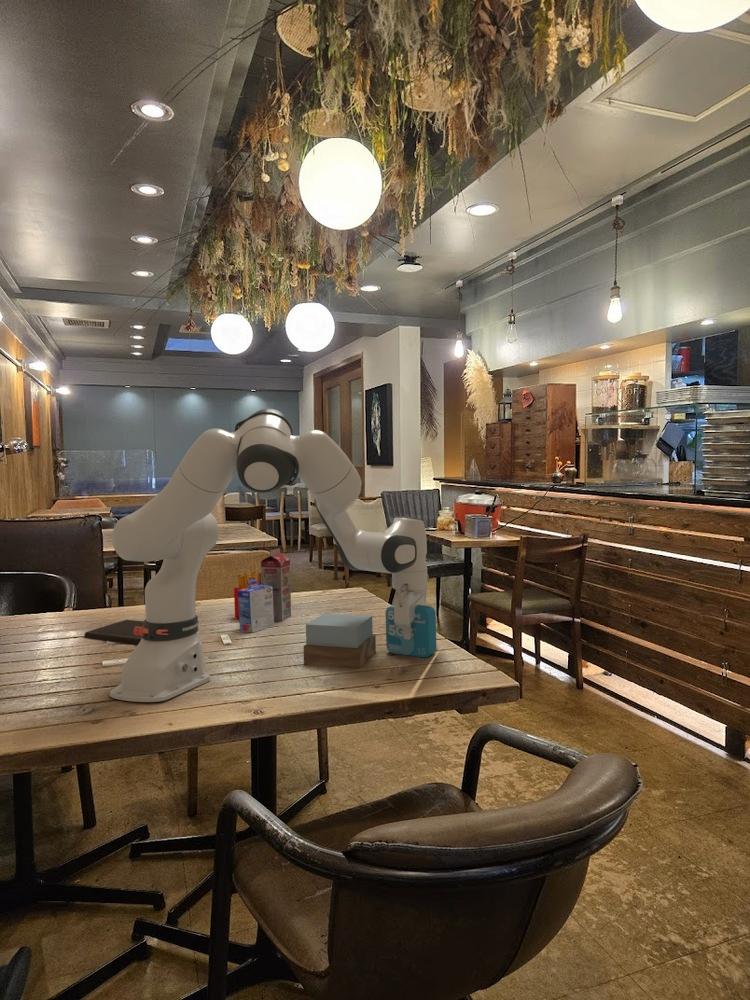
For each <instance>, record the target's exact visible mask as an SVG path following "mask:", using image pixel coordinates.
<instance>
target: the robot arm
mask: <svg viewBox="0 0 750 1000" xmlns="http://www.w3.org/2000/svg"><path fill="white" fill-rule="evenodd" d="M293 433H294V432H293V429H292V425H291V422H290V420H289V419H288V417H287V416H286V415H285V414H284V413H283V412H281V411H279V410H277V409H274V408H263V409H260V410H257V411H255V412H254V413H252V414H251V415H249V416H248V417H246V418H245V419H243V420H241V421H239V422H237V423H236V424H235V427H234V431H232V432H230V431H229V430H224V429H223V428H209V429H207V430H205V431H204V432H202V433H201V434H200V435H199V436H198V438H197V439H196V440H195V441H194V442H193V443H192V444H191V446H190V447H189V448H188V450H187V451H186V453H185V455H184V456H183V457H182V459H181V461H180V463H179V465H178V466H177V468H176V469H175V471H174V473H173V475H172V476H171V478H170V479H169V481H168V482H167V483H166V485H165V486H164V487H163V488H162V490H161V491H159V492H158V493H157V494H156V495H155V496H154V497H153V498H152V499H150V500H149V501H148V502H146V503H145V504H144V505H143V506H142V507H140V508H139V509H137V510H136V511H134V512H132V513H130V514H128V515H125V516H124V517H122V518H120V519H119V520H118V521H117V522H116V523H115V525H114V527H113V529H112V532H111V543H112V546H113V549H114V551H115V552H116V554H117V555H118V556H119V557H120V558H121V559H122V560H124V561H129V562H141V563H144V562H145V563H147V562H154V561H155V562H156V561H162V560H163V561H162V563H161V567H160V569H159V570H158V572H157V573H156V574H155V575H154V576H153V577H152V578H151V579H149V580H148V582H147V583H146V584H145V585H146V586H145V588H144V607H145V608H144V610H145V619H144V620H143V621H144V624H143V627H139V626H136V627H135V629H134V631H133V632H135V633H134V634H135V635H141V638H142V639H141V641H140V642H139V644H138V645H136V647H135V648H134V650H132V651H133V652H131V654H130V656H128V658H127V660H126V661H125V662H124V664H123V665H122V668H121V682H120V683H119V684H118V685H117V686H115V687H114V688H113V689H111V690H110V691H109V696H110V697H111V698H112V699H114V700H115V699H116V700H119V701H127V702H137V703H155V702H157V703H158V702H164V701H167V700H169V699H171V698H174V697H177V696H179V695H181V694H183V693H185V692H188V691H190V690H192V689H195V688H196V687H199V686H201V685H203V684H205V683H209V682H210V681H211V676H210V674H208V673H207V671H206V669H207V668H206V662H205V661H206V660H205V655H204V654H205V653H204V646H203V644H202V642H201V640H200V638H199V636H198V631H199V616H198V615H197V612H196V592H197V591H196V588H197V580H198V574H199V572H200V569H201V567H202V564H203V561H204V559H205V558H206V556H207V555H208V554H209V552H210V551H211V550H212V549H213V548H215V546H216V544H217V542H218V539H219V537H220V527H219V526H220V525H219V523H218V521H217V519H216V517H215V516H214V515H213V514H212V513H211V512H212V511H213V510H214V508H215V507H216V505H217V504H218V502H219V500H220V499H221V497H222V496H223V494H224V493H225V492H226V490H227V488H228V487H229V485H230V483H231V481H232V480H233V478H234V477H235V476H238V479H239V480H240V481H239V482H240V483H241V484H242V485H243V486H244V487H245V488H247V490H250V491H252V492H254V493H257V494H258V493H260V494H262V493H265V494H266V493H271V492H275V491H277V490H279V489H282V488H283V487H284V486H289V485H292V484H294V482H295V481H296V480H297V478H298V479H300V480H301V482H302V483H304V485H305V487H306V488H307V489H308V490H309V492H310V493H311V495H312V496H313V498H314V505H315V509H316V511H317V514H318V515H319V517H320V520H322V522H323V524H324V526H325V527H326V529H327V530H328V533H329V534H330V536H331V537H332V539H333V540H334V543H335V544H336V547H337V549H338V550H337V551H338V553H339V556H340V559H341V562H342V563H343V564H344V566H345V567H346V568H347V569H349V570H351V571H368V572H373V573H374V572H375V573H384V574H391V583H392V585H391V586H392V589H393V590H397V593H396V594H395V596H394V602H393V603H394V604H393V605H394V623H395V625H396V626H402V629H403V632H404V639H408V640H409V639H411V637H412V631H411V623H412V622H413V620H414V619H415V608H416V607H417V606H418V605H425V606H426V602H427V588H428V584H429V579H430V578H429V574H428V566H427V562H426V557H427V553H428V544H427V543H428V542H427V531H426V526H425V524H424V523H425V522H424V521H423V520H422V519H420V518H418V517H412V516H411V517H409V516H396V517H394V518H393V521H392V523H391V525H390V526H389V527H388V528H387V529H385V530H383V531H382V532H378V531H368V530H363V529H361V528H359V527H357V526H356V525H355V523H354V522H353V520H352V519H351V517H350V515H349V512H348V511H347V510H348V509H350V508H351V507H352V506H353V505H354V504H355V502H356V501H357V500H358V498H359V497H360V494H361V490H362V486H363V485H362V484H363V482H362V479H361V476H360V474H359V472H358V470H357V468H356V467H355V466H354V464H353V462H352V461H351V460H350V459H349V457H348V455H347V454H346V453H345V452H344V451H343V448H342V447H340V446H339V445H338V444H337V442H335V440H333V439H332V438H331V436H329V435H328V434H327V433H326V432H325V431H323V430H319V429H312V430H311V429H310V430H308V431H305V432H303V433H301V434H300V435H293Z"/></svg>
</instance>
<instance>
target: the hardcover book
mask: <svg viewBox="0 0 750 1000" xmlns="http://www.w3.org/2000/svg"><path fill="white" fill-rule="evenodd" d="M143 624H144V620H143V621H142V620H141V621H140V620H135V619H134V620H133V619H124V620H122V621H117V622H113V623H111V624H108V625H105V626H100V627H98V628H95V629H91V630H87V631H85V633H84V638H85V639H91V640H98V641H106V642H111V643H118V644H119V643H120V644H126V645H133V646H137V645H138V644H139V642H140V641H141V639H142V638H141V635H135V634H134V633H135V632H133V631H134V629H135V627H136V626H139V627H143Z"/></svg>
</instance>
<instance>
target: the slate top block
mask: <svg viewBox="0 0 750 1000" xmlns="http://www.w3.org/2000/svg"><path fill="white" fill-rule="evenodd" d="M373 634H374V633H373V615H366V614H365V615H363V614H347V613H346V614H344V613H328V612H327V613H322V614H320V615H318V616H317V617H316V618H314V619H312V620H311V621H309V622H308V623H305V641H306V642H305V643H306V644H305V645H317V646H331V647H346V648H358V647H359V646H361V645H362V644H363V643H364V642H365V641H366V640H368V639H369V638H370V637H371V636H372V635H373Z"/></svg>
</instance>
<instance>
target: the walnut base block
mask: <svg viewBox="0 0 750 1000" xmlns="http://www.w3.org/2000/svg"><path fill="white" fill-rule="evenodd" d="M376 637H377V636H376V634H375V633H373V635H372V636H371V637H370V638H369V639H368V640H366V641H365V642H364V643H363V644H362V645H361V646H359V647H358V648H346V647H331V646H317V645H306V644H304V645H303V665H305V666H320V667H334V668H335V667H336V668H347V669H361V668H362V667H363V666H364V665H365V664H366V662H368V661H369V659H370V658H371V657H372V656H373V655H375V653H376V651H377V650H376V649H377V647H376V646H377V644H376V643H377V641H376V639H377V638H376Z"/></svg>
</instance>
